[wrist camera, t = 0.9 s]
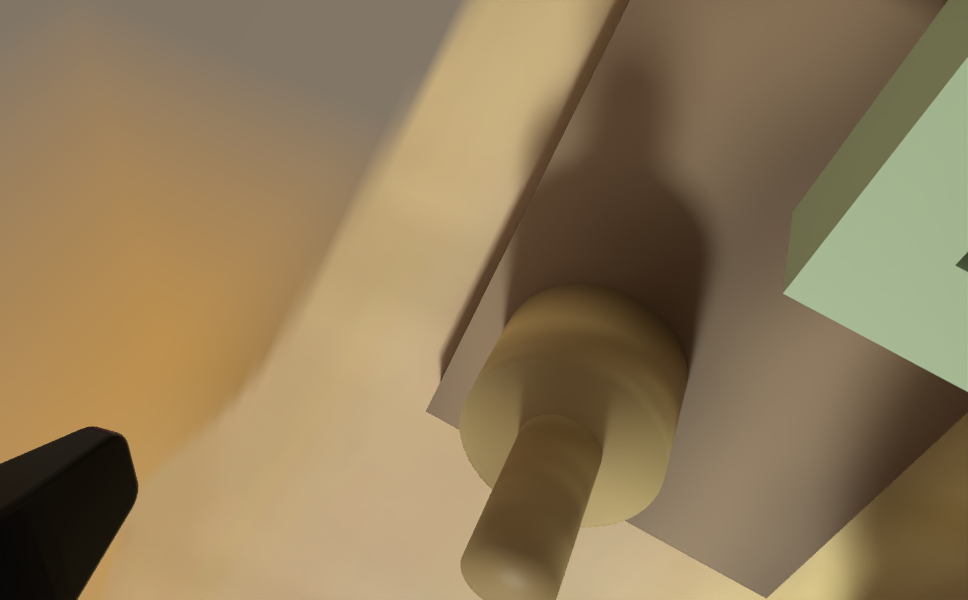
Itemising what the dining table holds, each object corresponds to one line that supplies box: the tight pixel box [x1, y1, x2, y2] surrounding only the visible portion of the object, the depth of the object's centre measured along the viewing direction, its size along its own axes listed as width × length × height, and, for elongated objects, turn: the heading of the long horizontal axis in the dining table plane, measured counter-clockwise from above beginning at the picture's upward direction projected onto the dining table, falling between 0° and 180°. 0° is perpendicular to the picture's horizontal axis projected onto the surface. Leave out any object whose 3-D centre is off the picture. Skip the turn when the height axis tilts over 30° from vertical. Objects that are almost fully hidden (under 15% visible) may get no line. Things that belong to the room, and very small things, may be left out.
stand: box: [426, 0, 968, 600], centre depth 16 cm, size 10×18×8 cm, turn 158°
